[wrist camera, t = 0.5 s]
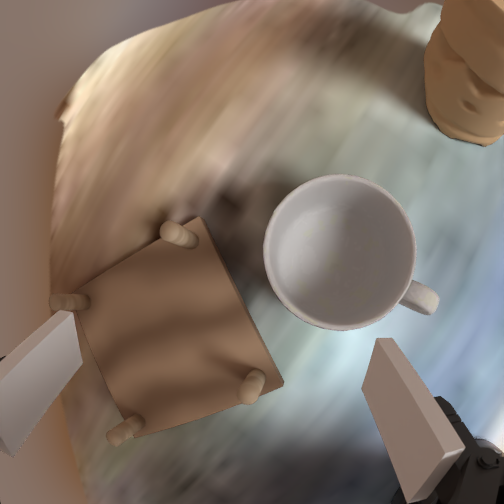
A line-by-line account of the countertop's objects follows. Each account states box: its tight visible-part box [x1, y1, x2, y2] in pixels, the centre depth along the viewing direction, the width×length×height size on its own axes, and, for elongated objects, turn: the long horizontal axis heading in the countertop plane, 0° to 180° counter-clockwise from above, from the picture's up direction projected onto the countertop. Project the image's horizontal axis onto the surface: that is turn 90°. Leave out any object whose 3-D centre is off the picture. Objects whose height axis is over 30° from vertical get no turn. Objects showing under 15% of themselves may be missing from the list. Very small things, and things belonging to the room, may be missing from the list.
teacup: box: [263, 174, 439, 331], centre depth 24 cm, size 14×11×8 cm
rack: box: [49, 216, 284, 446], centre depth 26 cm, size 17×17×6 cm
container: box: [424, 0, 504, 147], centre depth 19 cm, size 13×13×18 cm
